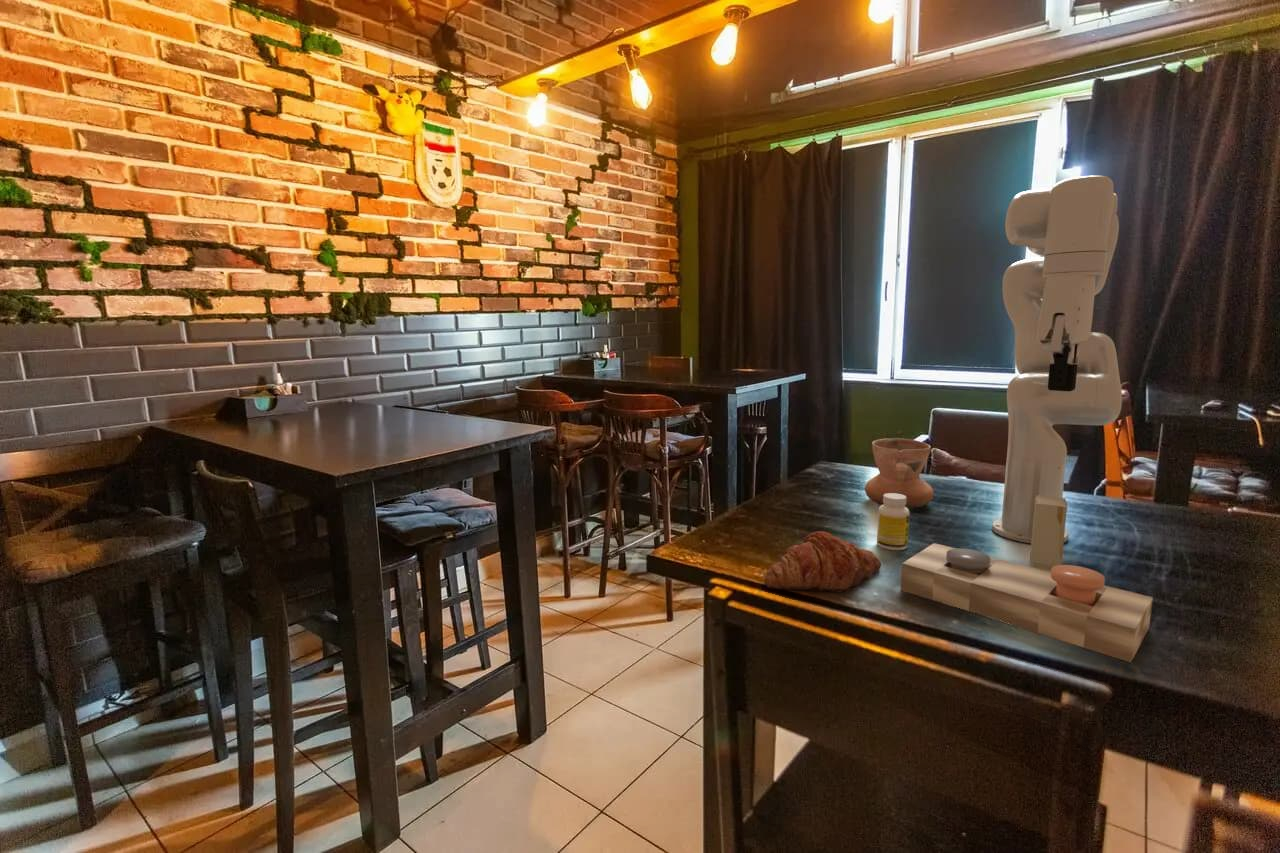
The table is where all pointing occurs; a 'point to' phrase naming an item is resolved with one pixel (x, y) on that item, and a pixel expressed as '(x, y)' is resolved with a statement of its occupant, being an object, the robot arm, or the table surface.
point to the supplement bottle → (893, 522)
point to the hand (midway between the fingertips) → (1061, 390)
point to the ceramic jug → (900, 471)
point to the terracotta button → (1077, 583)
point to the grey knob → (968, 560)
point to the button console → (1032, 602)
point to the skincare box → (1048, 532)
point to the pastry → (822, 565)
